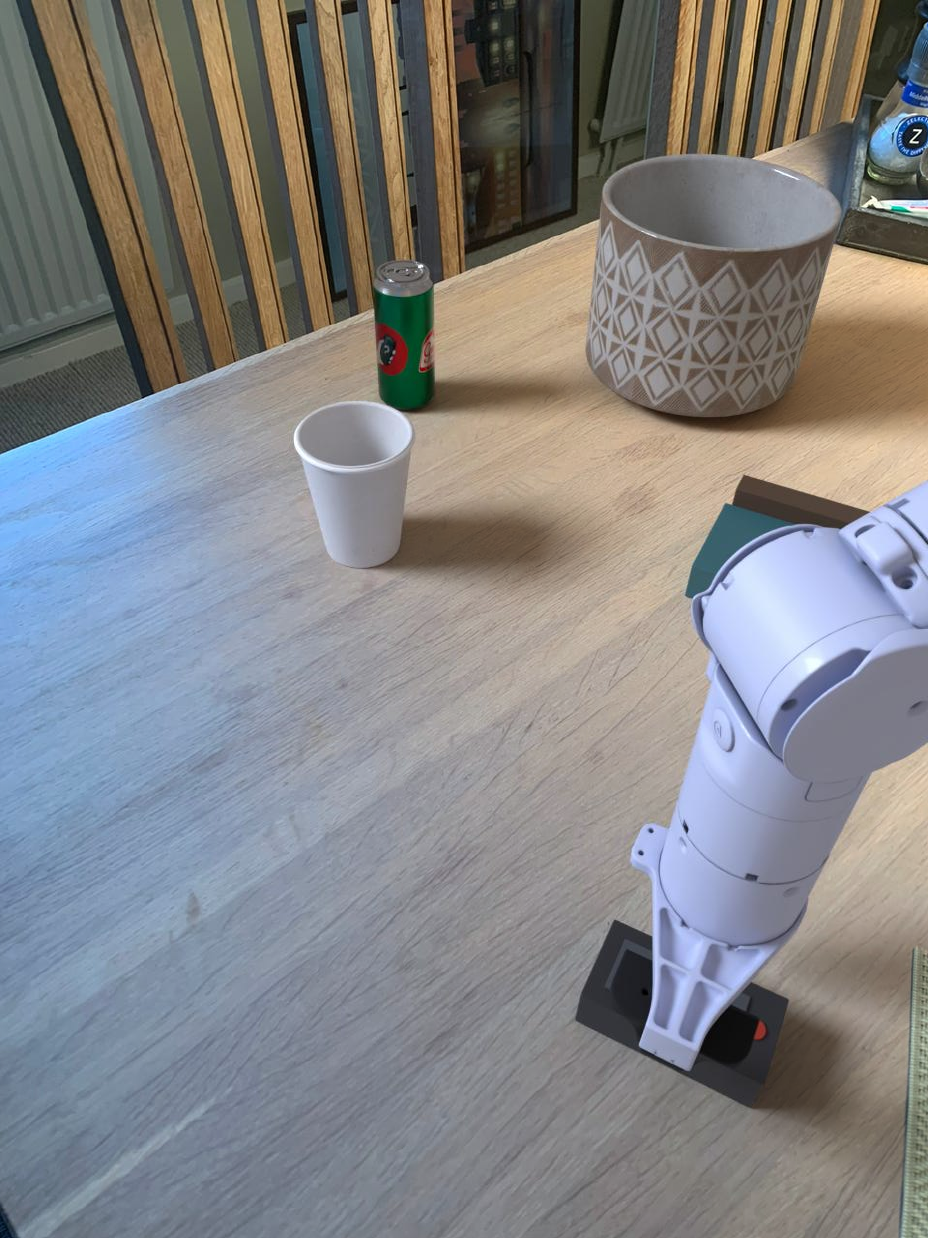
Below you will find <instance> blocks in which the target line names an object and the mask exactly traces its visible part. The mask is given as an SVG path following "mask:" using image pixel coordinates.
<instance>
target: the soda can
mask: <svg viewBox="0 0 928 1238" xmlns="http://www.w3.org/2000/svg"><path fill="white" fill-rule="evenodd" d="M372 298H373V299H372V300H373V316H374V317H373V318H374V333H375V349H376V351H375V352H376V367H377V368H376V369H377V370H376V371H377V385H378V386H377V388H378V396H379V398H380V400H381V401H382V402H384V403H385V405H387V406H389V407H392V408H394V409H396V410H398V411H415V410H418V409H422V408H424V407H425V406H427V405H428V404H429V403H430V402H431V401H432V400H433V398H434V397H435V395H436V354H435V353H436V352H435V350H436V348H435V347H436V346H435V344H436V342H435V341H436V340H435V282H434V280H433V278H432V276H431V275H430V270H429V267H427V266H426V264H424V263H423V262H420V261H416V260H411V259H396V260H390V261H387V262H384V263H382V264H381V265H380V266H378V267H377V269H376V276H375V278H374V279H373V282H372Z"/></svg>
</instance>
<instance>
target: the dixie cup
mask: <svg viewBox="0 0 928 1238" xmlns="http://www.w3.org/2000/svg"><path fill="white" fill-rule="evenodd" d="M415 442H416V430H415V427H414V425H413V423H412V422H411V420H410V419H409V418H408V417H407V416H406V415H405V414H404V413H402V412H401V411H400V410H398V409H394V408H392V407H390V406H388V405H387V404H383V403H381V402H376V401H375V402H374V401H369V400H348V401H341V402H335V403H331V404H328V405H325V406H323V407H319V408H318V409H316V410H314V411H312V412H311V413H310V414H308V415H307V416H305V417H304V418H302V420H301V422H300V423H299V424H298V425H297V427H296V429H295V431H294V433H293V443H294V448H295V450H296V452H297V454H298V455H299V456H300V459H301V462H302V466H303V470H304V473H305V477H306V481H307V484H308V488H309V491H310V495H311V499H312V502H313V506H314V510H315V513H316V517H317V520H318V524H319V528H320V531H321V534H322V539H323V543H324V546H325V549H326V552H327V554H328V555H329V557H330V558H331V559H332V560H333V561H335V562H336V563H338V564H340V565H342V566H345V567H349V568H355V569H367V568H373V567H378V566H380V565H383V564H385V563H387V562H388V561H390V560H391V559H393V558H394V557H395V555H397V553H398V551H399V549H400V547H401V540H402V531H403V521H404V514H405V513H404V512H405V504H406V494H407V489H408V488H407V486H408V479H409V470H410V462H411V461H410V460H411V452H412V449H413V447H414V446H415Z"/></svg>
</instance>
